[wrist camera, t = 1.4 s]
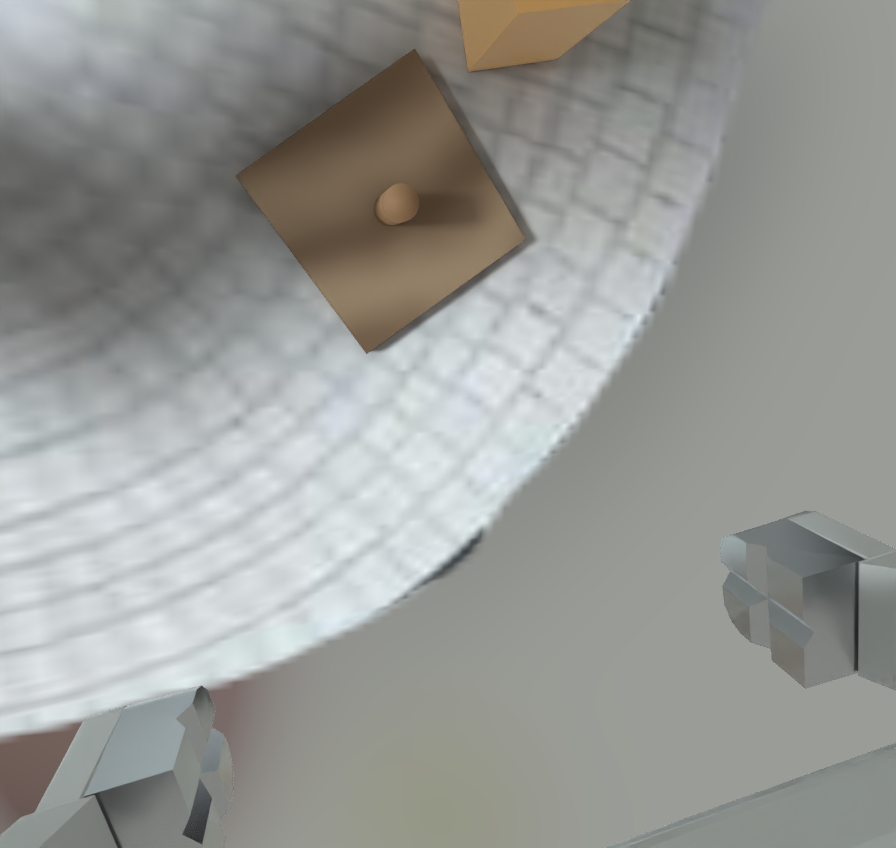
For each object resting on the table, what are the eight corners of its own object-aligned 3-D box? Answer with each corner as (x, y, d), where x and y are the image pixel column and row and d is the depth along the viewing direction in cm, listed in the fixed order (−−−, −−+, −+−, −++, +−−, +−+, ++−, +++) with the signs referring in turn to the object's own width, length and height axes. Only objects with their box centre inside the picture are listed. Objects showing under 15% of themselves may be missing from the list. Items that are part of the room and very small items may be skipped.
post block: (238, 178, 34) (222, 162, 28) (411, 55, 34) (431, 14, 28) (365, 350, 38) (374, 368, 32) (519, 239, 38) (556, 237, 32)
